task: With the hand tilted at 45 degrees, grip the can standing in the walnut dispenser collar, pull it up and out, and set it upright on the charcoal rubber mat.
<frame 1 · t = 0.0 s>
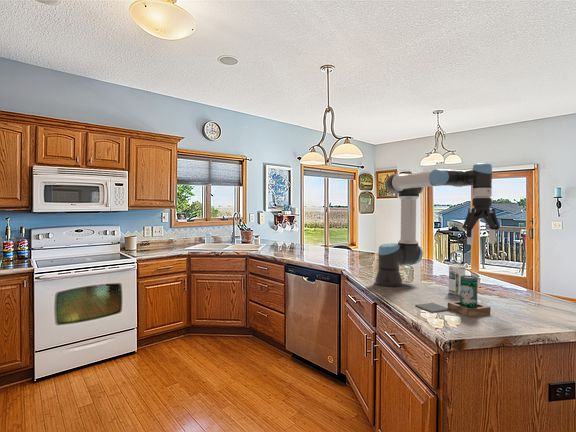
hand: (481, 244, 150), 28 cm above the countertop, tool pointing down, fingers open, 13 cm apart
mat: (432, 308, 145), on the countertop
syrup box: (456, 293, 171), on the countertop
dispenser collar: (468, 311, 140), on the countertop
can: (468, 312, 140), resting in dispenser collar
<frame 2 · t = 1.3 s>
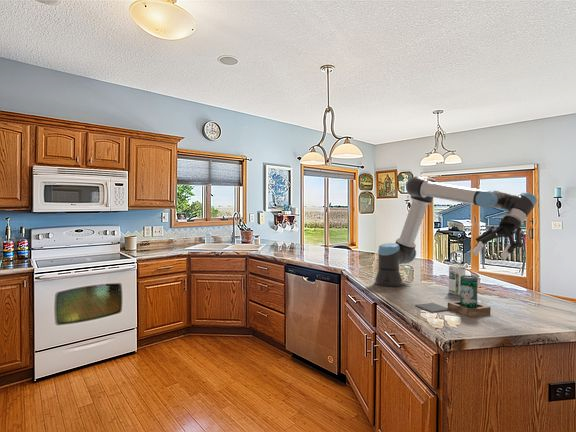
hand: (488, 255, 143), 24 cm above the countertop, tool tilted 45°, fingers open, 13 cm apart
nothing on the countertop moved.
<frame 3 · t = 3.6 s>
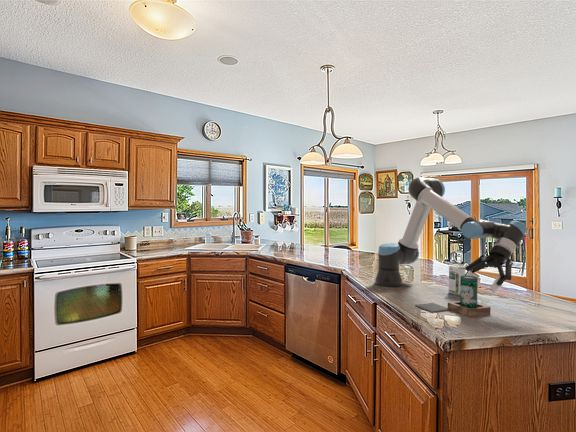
hand: (477, 286, 140), 11 cm above the countertop, tool tilted 45°, fingers open, 13 cm apart
nothing on the countertop moved.
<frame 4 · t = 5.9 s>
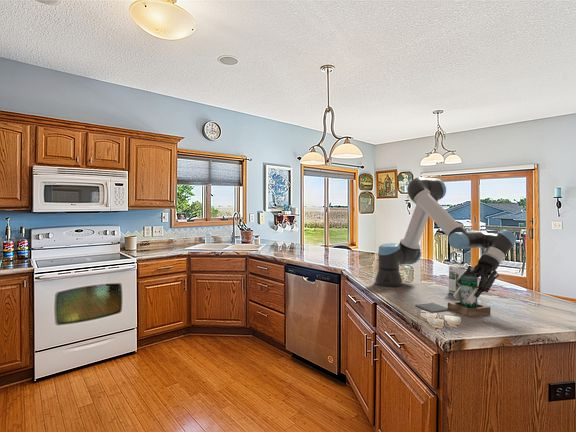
hand: (462, 299, 139), 5 cm above the countertop, tool tilted 45°, fingers closed on can, 6 cm apart
can: (468, 312, 140), resting in dispenser collar, touching gripper
everything else where it was.
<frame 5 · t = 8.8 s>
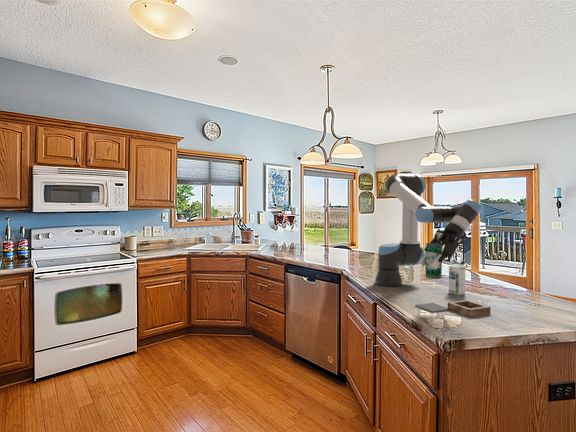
hand: (427, 265, 143), 19 cm above the countertop, tool tilted 45°, fingers closed on can, 6 cm apart
can: (433, 277, 145), point 13 cm above the countertop, touching gripper
everything else where it was.
when the fingers open (7 cm above the countertop, at t = 11.8 s): can drops 1 cm, resting on mat.
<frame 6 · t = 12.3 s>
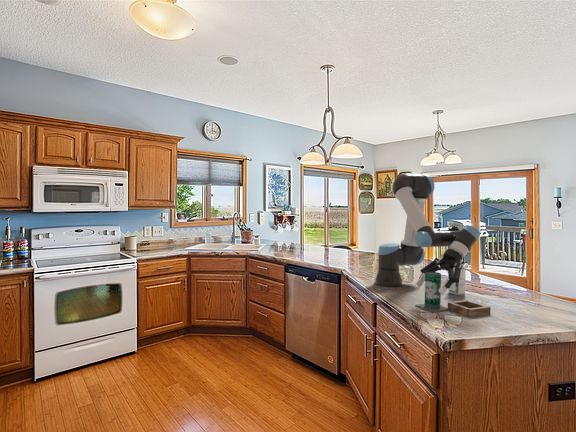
hand: (428, 289, 144), 9 cm above the countertop, tool tilted 45°, fingers open, 13 cm apart
can: (432, 307, 145), resting on mat
everything else where it was.
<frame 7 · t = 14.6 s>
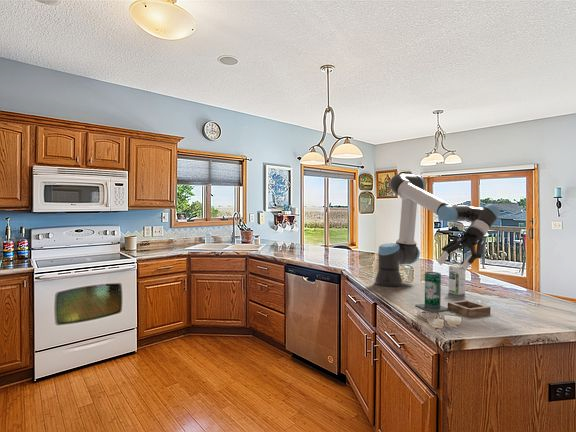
hand: (450, 265, 148), 18 cm above the countertop, tool tilted 45°, fingers open, 13 cm apart
nothing on the countertop moved.
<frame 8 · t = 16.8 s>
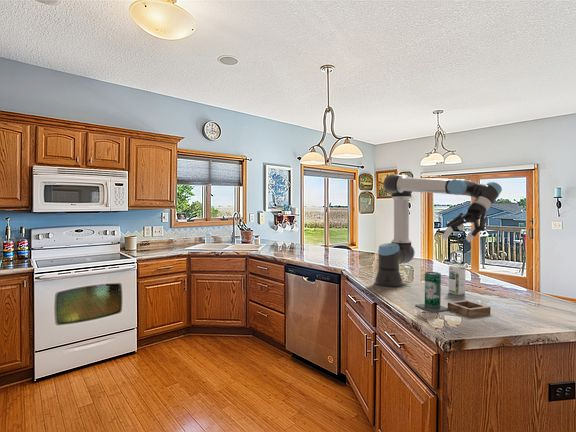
hand: (455, 239, 156), 30 cm above the countertop, tool tilted 45°, fingers open, 13 cm apart
nothing on the countertop moved.
at the end: can inside the target area on the mat (0.1 cm from its centre), point 0.4 cm above the mat's base; can tilted 0°; the gripper is holding nothing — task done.
